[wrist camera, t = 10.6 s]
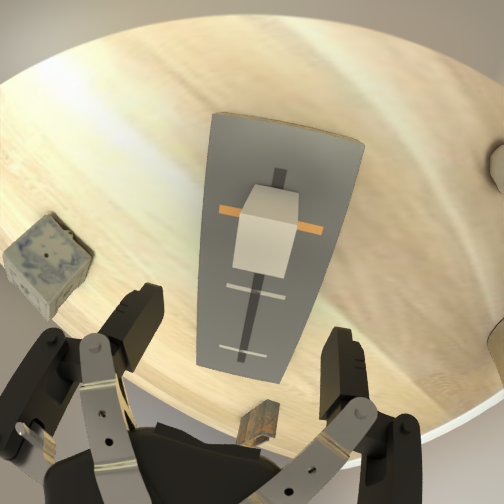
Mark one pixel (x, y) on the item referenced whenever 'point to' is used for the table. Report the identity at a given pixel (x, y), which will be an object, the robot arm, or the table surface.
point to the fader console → (303, 250)
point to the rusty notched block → (258, 425)
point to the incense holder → (46, 265)
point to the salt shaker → (498, 167)
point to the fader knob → (266, 231)
